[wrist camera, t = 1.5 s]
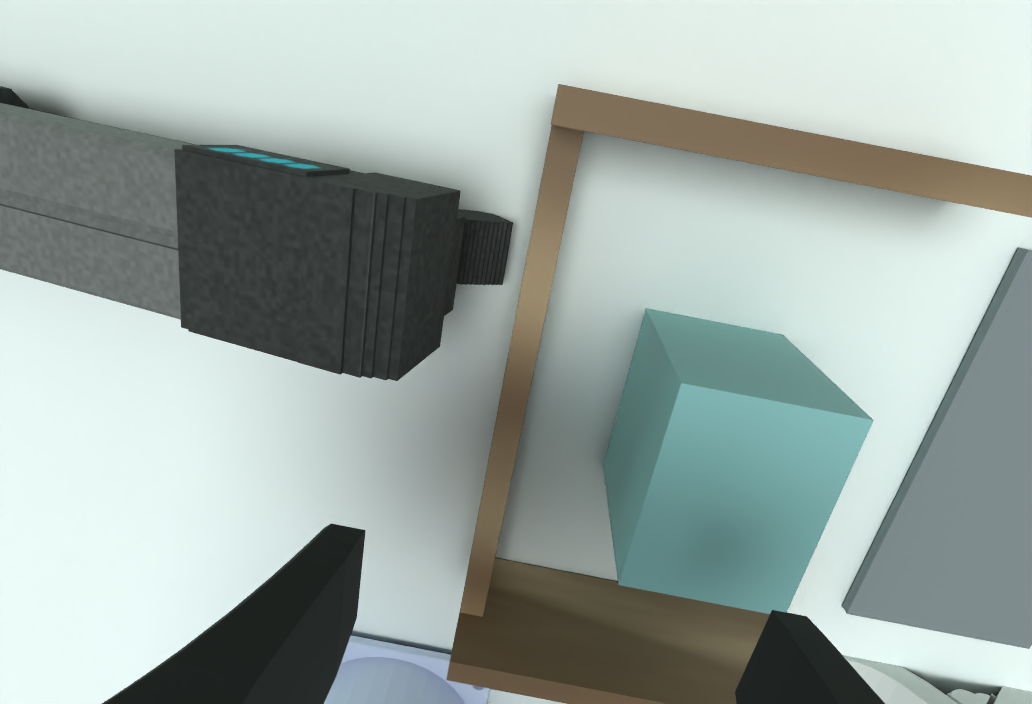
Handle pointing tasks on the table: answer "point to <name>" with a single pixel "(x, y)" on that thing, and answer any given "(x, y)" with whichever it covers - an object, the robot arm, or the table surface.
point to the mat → (967, 494)
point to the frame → (496, 582)
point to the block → (724, 462)
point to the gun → (242, 240)
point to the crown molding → (924, 687)
